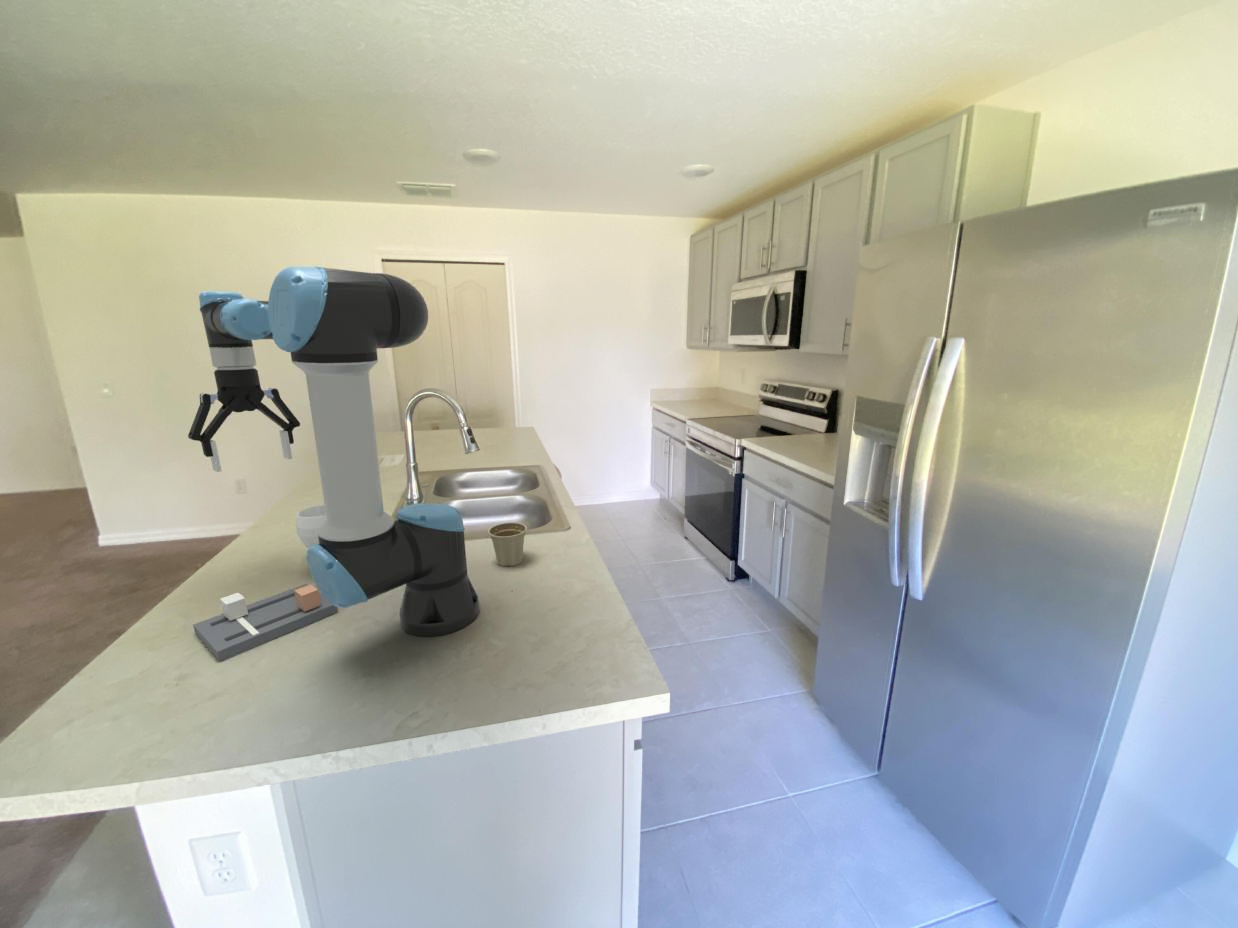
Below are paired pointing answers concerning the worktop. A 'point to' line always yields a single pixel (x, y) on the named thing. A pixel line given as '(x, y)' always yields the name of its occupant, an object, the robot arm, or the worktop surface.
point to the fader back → (234, 606)
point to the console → (259, 624)
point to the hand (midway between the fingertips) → (254, 464)
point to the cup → (310, 524)
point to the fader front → (307, 598)
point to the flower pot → (508, 542)
